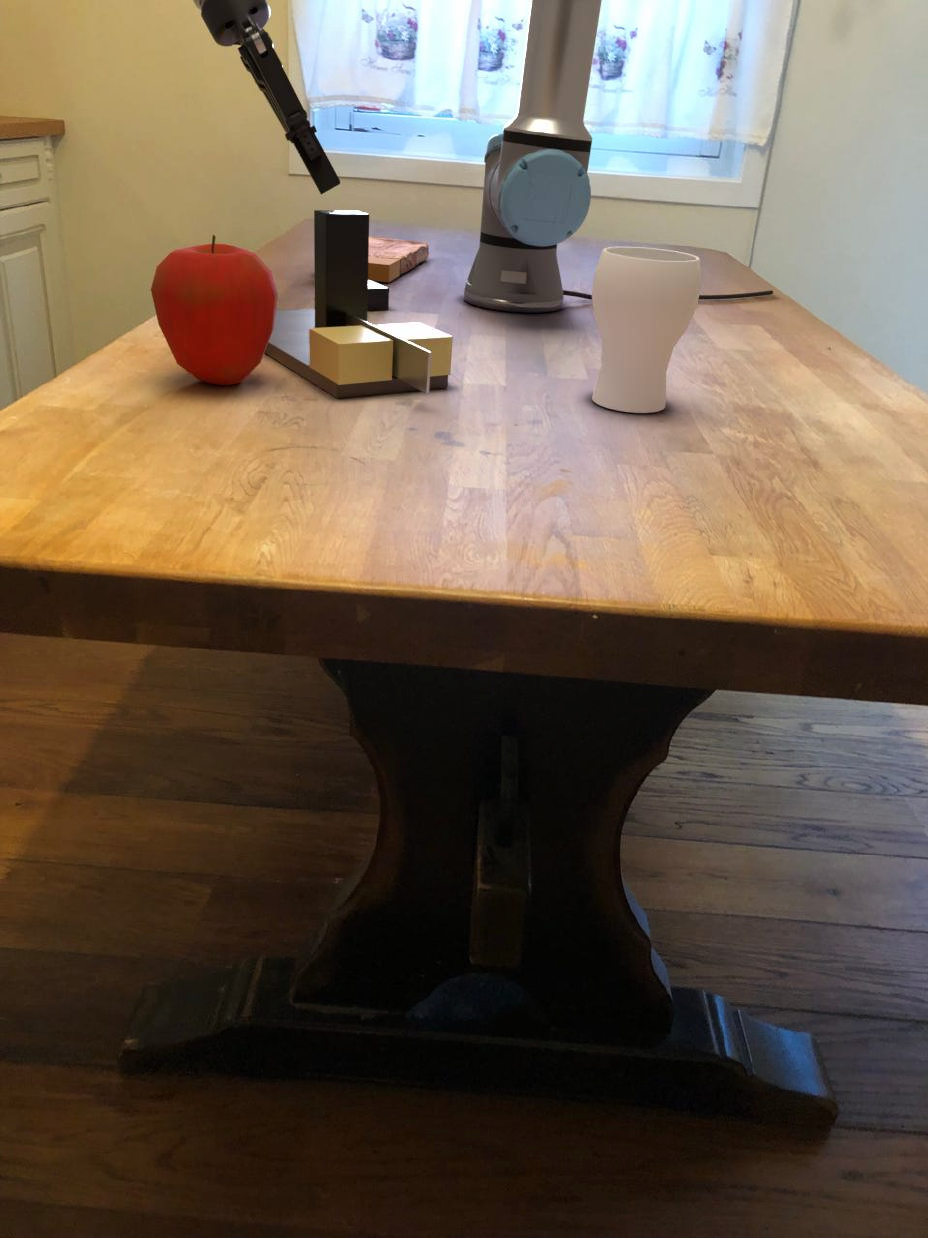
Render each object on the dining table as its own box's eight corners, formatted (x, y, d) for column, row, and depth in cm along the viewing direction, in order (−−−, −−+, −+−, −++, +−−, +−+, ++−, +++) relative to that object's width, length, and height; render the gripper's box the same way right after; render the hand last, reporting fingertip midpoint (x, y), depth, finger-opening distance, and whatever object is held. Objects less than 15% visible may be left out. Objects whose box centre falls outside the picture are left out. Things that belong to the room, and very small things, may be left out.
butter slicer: (314, 345, 106) (313, 209, 100) (355, 342, 109) (356, 210, 102) (405, 395, 91) (411, 240, 84) (449, 391, 94) (459, 239, 87)
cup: (678, 423, 96) (706, 266, 88) (573, 410, 97) (593, 254, 90) (678, 396, 105) (704, 252, 98) (583, 384, 106) (601, 241, 99)
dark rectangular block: (326, 300, 138) (326, 278, 137) (363, 298, 141) (363, 277, 140) (350, 311, 132) (350, 289, 131) (388, 309, 135) (389, 287, 134)
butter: (309, 367, 99) (309, 328, 97) (417, 358, 105) (419, 321, 103) (338, 384, 94) (338, 343, 92) (450, 374, 100) (452, 336, 98)
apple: (179, 361, 103) (169, 222, 96) (289, 370, 103) (286, 231, 96) (142, 392, 92) (127, 237, 85) (265, 401, 92) (260, 247, 85)
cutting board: (220, 325, 120) (219, 312, 119) (315, 320, 126) (315, 308, 125) (336, 398, 95) (336, 383, 94) (447, 387, 101) (448, 373, 101)
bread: (312, 275, 155) (312, 254, 154) (363, 252, 181) (364, 234, 180) (389, 284, 153) (390, 262, 152) (430, 259, 179) (431, 240, 178)
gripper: (206, 34, 117) (306, 214, 122) (189, -15, 104) (301, 189, 110) (259, 4, 117) (356, 185, 122) (249, -48, 104) (357, 157, 110)
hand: (330, 187), depth 116 cm, fingers closed
